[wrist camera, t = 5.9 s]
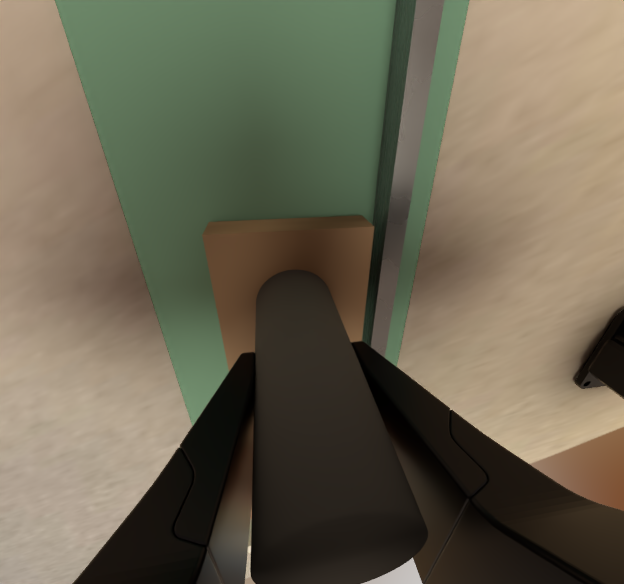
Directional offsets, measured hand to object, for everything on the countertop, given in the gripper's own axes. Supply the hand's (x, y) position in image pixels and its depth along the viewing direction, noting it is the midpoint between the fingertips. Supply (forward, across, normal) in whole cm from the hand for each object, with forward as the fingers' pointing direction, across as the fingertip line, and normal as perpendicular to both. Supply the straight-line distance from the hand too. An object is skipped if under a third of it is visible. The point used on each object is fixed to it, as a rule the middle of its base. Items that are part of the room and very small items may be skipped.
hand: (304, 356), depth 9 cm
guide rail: (+5, -4, -2) cm, 7 cm away
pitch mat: (+5, 0, +3) cm, 6 cm away
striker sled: (+5, 0, +4) cm, 6 cm away
